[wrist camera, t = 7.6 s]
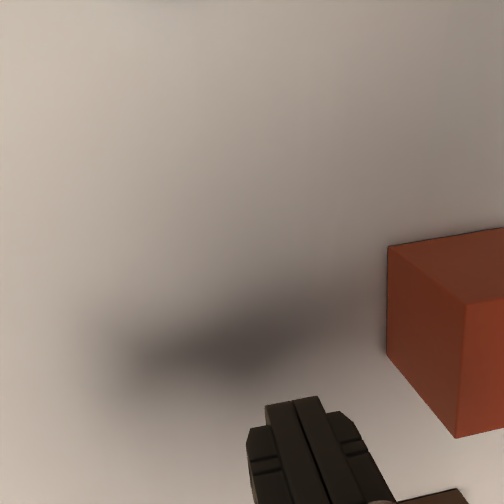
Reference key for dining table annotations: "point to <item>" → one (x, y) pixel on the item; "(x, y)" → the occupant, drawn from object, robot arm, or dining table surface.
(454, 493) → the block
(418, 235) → the dining table surface
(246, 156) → the dining table surface
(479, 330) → the middle block
